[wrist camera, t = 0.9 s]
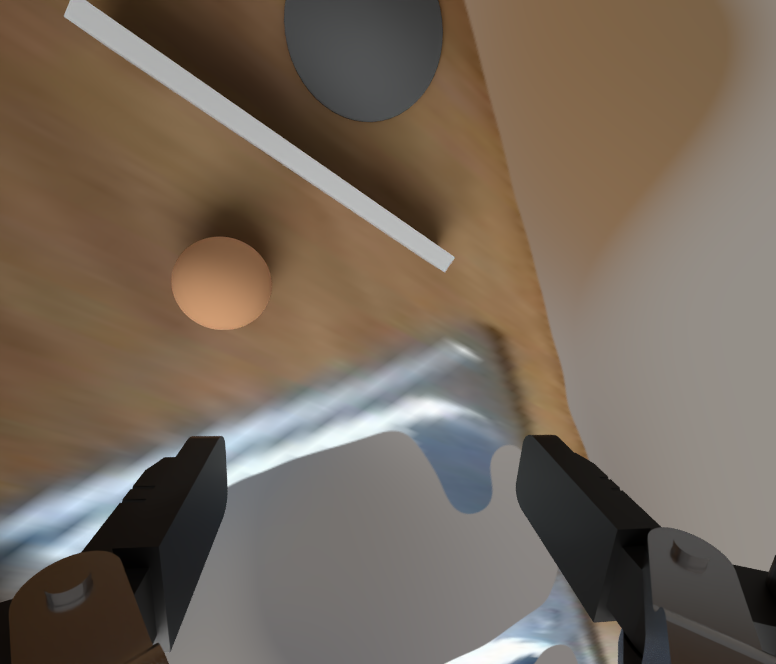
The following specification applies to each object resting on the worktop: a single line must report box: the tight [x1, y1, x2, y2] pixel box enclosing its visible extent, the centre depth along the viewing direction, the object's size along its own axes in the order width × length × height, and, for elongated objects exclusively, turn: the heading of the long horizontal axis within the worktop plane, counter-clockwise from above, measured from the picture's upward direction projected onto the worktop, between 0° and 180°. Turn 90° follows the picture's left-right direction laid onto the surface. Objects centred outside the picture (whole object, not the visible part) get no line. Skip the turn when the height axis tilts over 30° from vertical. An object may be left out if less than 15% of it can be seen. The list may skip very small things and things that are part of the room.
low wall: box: [64, 0, 455, 272], centre depth 25 cm, size 24×1×4 cm, turn 57°
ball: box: [171, 237, 272, 330], centre depth 26 cm, size 6×6×6 cm
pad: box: [284, 0, 443, 122], centre depth 25 cm, size 10×10×1 cm
